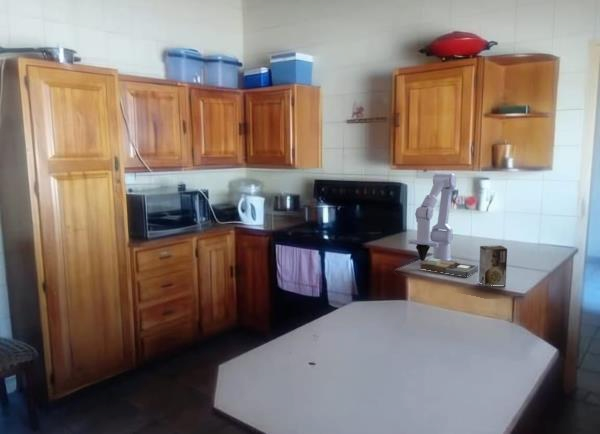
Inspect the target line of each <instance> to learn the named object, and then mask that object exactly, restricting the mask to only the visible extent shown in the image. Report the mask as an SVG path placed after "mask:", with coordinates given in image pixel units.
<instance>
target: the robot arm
mask: <svg viewBox="0 0 600 434" xmlns="http://www.w3.org/2000/svg"><path fill="white" fill-rule="evenodd" d="M432 177H433V178H432V183H433V184H432V187H431V190H430V193H429V194H428V195H425V196H424V199H423V201H422V203H421V205H420V206H419V207H417V208H416V210H415V219H416V223H417V225H416V227H417V228H416V229H417V230H416V231H417V233H416V239H407V240H408V242H407V243H408V245H416V246H415V249H416V250H417V252H418V255H419V260H420V261H423V262H425V261H426V257H427V254H428V251H429V250H430V248H433V255H432V258H436V259H442V260H449V261H453V258H451V250H452V247H451V245H450V244H451V242H452V241H453V237H454V236H453V231H454V230H453V228H452V227H451V226H450V225H449V224H448V223H449V215H450V209H451V203H452V196H453V192H454V191H455V190H456V185H457V177H456V175H455V174H454V173H442V172H441V173H438V172H436V173H435V174H434V175H433V176H432ZM440 194H441V196H440V202H439V210H438V215H437V223H436V224H435V225H433V226H432V228H431V220H432V218H433V216H434V208H435V206H436V205H437V202H438V198H437V197H438V196H439V195H440ZM430 230H431V231H430Z"/></svg>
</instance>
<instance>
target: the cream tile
mask: <svg viewBox="0 0 600 434" xmlns="http://www.w3.org/2000/svg"><path fill="white" fill-rule="evenodd" d="M457 270H460V271H468V270H470V266H465V265H459V266H457Z"/></svg>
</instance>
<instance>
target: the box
mask: <svg viewBox="0 0 600 434" xmlns="http://www.w3.org/2000/svg"><path fill="white" fill-rule="evenodd" d="M459 265H465V266H470V270H468V271H460V270H457V267H456V268H454V269H447V268H446V273H449V274H454V275H461V276H466V277H467V276H469V275H471V274H472V275H474V274H475V272H476V271H477V272H479V266H478V265H475V264H467V263H461V262H457V266H459ZM477 272H476V273H477ZM473 273H474V274H473ZM454 275H453V276H454ZM472 275H471V276H472ZM466 277H465V278H466ZM469 277H470V276H469ZM467 278H468V277H467Z"/></svg>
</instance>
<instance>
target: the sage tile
mask: <svg viewBox="0 0 600 434" xmlns="http://www.w3.org/2000/svg"><path fill="white" fill-rule="evenodd" d="M426 261H427V264H430V265H439V264H440V262H441V259H434V258H433V257H431V258H428V259H427V260H426Z"/></svg>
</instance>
